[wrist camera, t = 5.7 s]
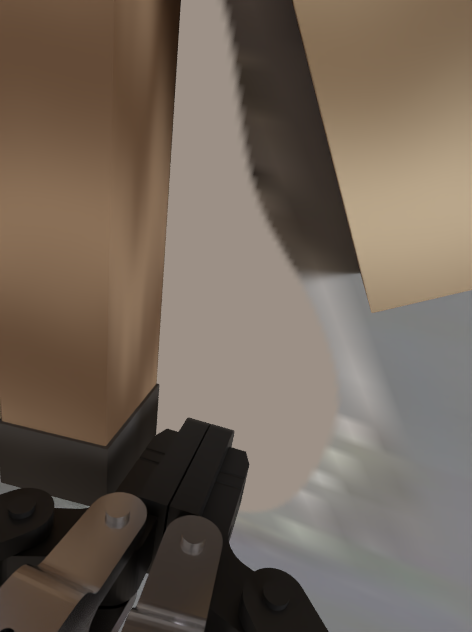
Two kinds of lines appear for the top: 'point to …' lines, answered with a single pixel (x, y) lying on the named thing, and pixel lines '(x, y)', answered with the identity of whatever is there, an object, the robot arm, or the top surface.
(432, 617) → the top surface
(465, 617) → the top surface
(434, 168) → the upturned wooden stool
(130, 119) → the leg
